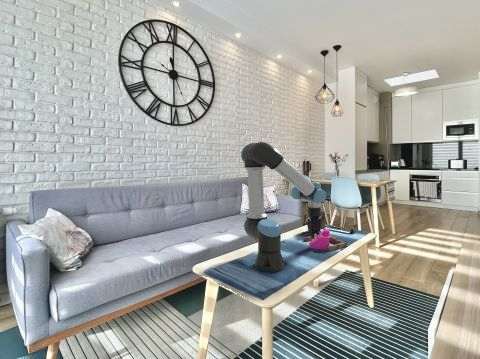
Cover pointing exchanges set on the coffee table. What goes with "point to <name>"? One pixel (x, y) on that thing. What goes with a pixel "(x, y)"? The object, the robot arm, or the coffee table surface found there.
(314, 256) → the coffee table surface
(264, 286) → the coffee table surface
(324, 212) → the brown pump bottle
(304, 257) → the coffee table surface
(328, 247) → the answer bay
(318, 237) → the bracket
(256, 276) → the coffee table surface
